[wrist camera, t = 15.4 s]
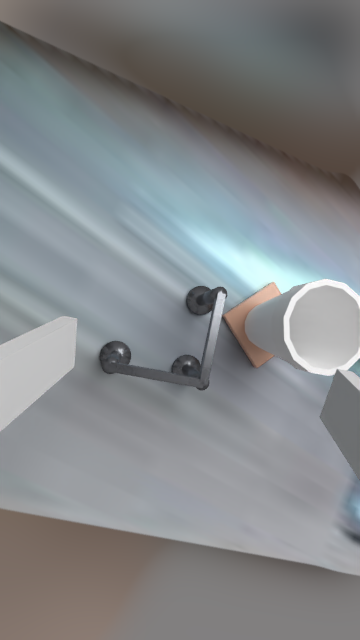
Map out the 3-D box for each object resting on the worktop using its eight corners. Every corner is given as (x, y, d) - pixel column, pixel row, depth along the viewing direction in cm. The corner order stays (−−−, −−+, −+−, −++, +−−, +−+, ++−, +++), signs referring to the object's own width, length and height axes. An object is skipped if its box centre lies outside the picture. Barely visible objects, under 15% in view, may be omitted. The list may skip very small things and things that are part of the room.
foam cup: (269, 280, 40) (333, 260, 27) (306, 329, 41) (386, 332, 28) (220, 322, 39) (264, 322, 26) (260, 371, 40) (322, 395, 27)
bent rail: (94, 351, 37) (80, 361, 27) (204, 281, 39) (227, 267, 30) (139, 418, 38) (142, 451, 28) (244, 345, 40) (278, 352, 31)
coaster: (221, 315, 40) (224, 315, 39) (270, 282, 41) (274, 281, 40) (254, 367, 40) (257, 368, 39) (300, 333, 42) (304, 333, 41)
